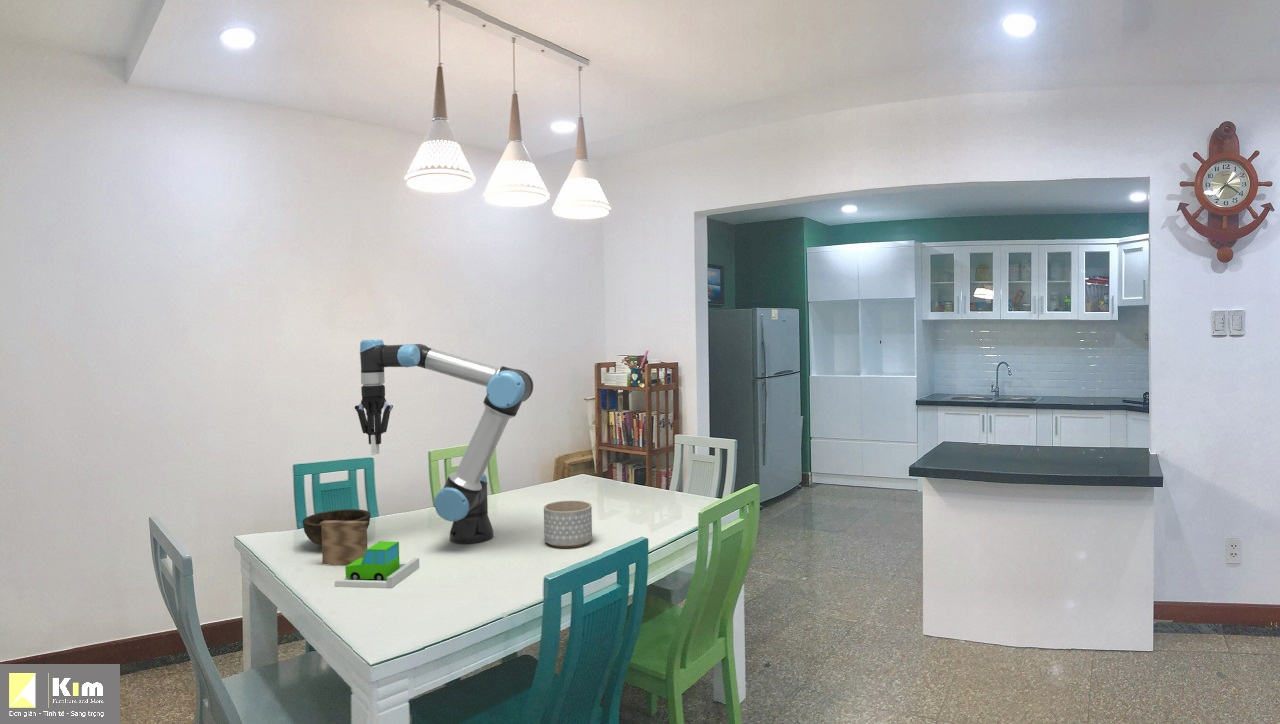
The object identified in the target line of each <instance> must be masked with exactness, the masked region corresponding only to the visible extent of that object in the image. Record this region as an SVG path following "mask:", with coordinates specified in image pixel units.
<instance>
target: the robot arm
mask: <svg viewBox="0 0 1280 724" xmlns="http://www.w3.org/2000/svg"><path fill="white" fill-rule="evenodd" d="M359 356H360V357H359V358H360V384H361V385H362V386H361V387H360V389H361V390H360V391H361V401H360V403H358V404H357V405H355V406H354V410H355V411H356V413H357V415H358V420H359V424H360V427H361V431H362V434H366V435H367V436H368V438H367V439H368V444H369V445H370V453H371V455H373V456H374V455H379V454H380V445H381V444H382V434H385V433H386V432H387V430H388V425H389V420H390V415H391V412H392V409H393V408H394V405H393V404H389V403H388V402H387V399H386V398H385V397H386V386H385V385H384V384H385V379H386V378H385V377H386V376H385V368H413V367H418V368H422V369H426V370H430V371H431V372H436V373H439V374H444V375H445V376H449V377H453V378H456V379H460V380H463V381H466V382H469V383H473V384H475V385H479V386H482V387H486V395H485V396H484V399H483V406H484V408H485V409H484V410H483V413H482V414H481V416H480V419H479V422H478V423H477V426H476V428H475V430H474V432H473V435H472V436H471V438H470V441H469V443H468V445H467V446H466V448H465V449H466V450H465V452H464V454H463V456H462V457H461V460H460V462H459V465H458V467H457V468H456V471H454V472H451V473H449V475H448V477H447V479H446V482H445V483H444V486H443V488H441V489H440V490H439V491H437V493H436V495H435V497H434V500H433V501H434V502H433V506H434V509H435V511H436V514H437V515H438V516H439V517H440V518H441V519H443V520H444V521H448V522H452V525H451V527H450V531H449V541H451V542H452V543H456V544H475V543H477V544H478V543H481V542H486V541H489V540H490V539H493V537H494V528H493V525H492V523H491V520H490V517H489V512H488V510H489V505H488V504H489V503H488V484H489V483H488V478H487V475H486V474H484V473H485V472H486V469H487V467H488V465H489V463H490V460H491V459H492V456H493V454H494V452H495V450H496V448H497V446H498V445H499V444H498V443H499V441H500V439H501V438H502V435H503V433H504V431H505V429H506V426H507V425H508V422H509V420H510V419H512V418H515V417H516V416H517V414H518V411H519V409H520V407H521V405H522V404H523V403H524V402H526V401H527V400H528V399H529V398H530V397H531V396H532V394H533V392H534V381H533V379H532V377H531V375H529V373H527V372H526V371H524V370H522V369H516V368H511V367H506V366H504V365H501V366H500V367H498V366H493V365H491V364H490V365H489V364H487V363H483V362H481V361H476V360H473V359H469V358H466V357H462V356H459V355H455V354H452V353H448V352H445V351H442V350H439V349H435V348H431V347H429V346H427V345H426V344H422V343H415V344H408V343H407V344H384V340H383V339H362V340H361V341H360V344H359ZM364 409H365V410H364ZM383 409H384V410H383ZM382 410H383V411H382Z"/></svg>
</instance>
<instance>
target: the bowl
mask: <svg viewBox="0 0 1280 724" xmlns="http://www.w3.org/2000/svg"><path fill="white" fill-rule="evenodd" d="M324 520H332V521H368V524H367V529H368V528H369V526H370V523H371V522H370V521H371V512H369V511H368V510H363V509H354V508H353V509H350V508H349V509H336V510H328V511H322V512H319V513H314V514H311V515H309V516H306V517H304V518H303V520H302V521H301V522H302V525H303V526H302V527H303V532H304V533H305V536H306V538H308V540H310V542H312V543H314V544H315V545H317V546H321V547H322V531H321V525H320V522H322V521H324Z"/></svg>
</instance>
